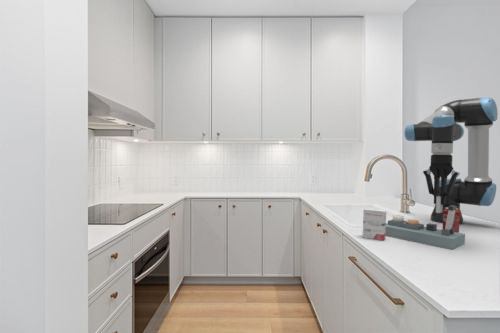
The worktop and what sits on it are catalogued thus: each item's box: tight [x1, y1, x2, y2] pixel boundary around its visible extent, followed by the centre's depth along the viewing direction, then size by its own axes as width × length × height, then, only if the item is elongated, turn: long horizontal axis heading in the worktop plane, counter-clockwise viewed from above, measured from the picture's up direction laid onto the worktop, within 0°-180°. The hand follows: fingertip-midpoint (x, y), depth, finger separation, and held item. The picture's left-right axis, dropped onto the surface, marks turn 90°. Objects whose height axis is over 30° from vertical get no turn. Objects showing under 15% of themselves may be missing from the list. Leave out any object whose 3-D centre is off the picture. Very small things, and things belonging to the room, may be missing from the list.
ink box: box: [362, 208, 387, 241], centre depth 139 cm, size 9×5×12 cm, turn 59°
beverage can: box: [442, 207, 460, 233], centre depth 147 cm, size 6×6×12 cm
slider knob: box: [425, 223, 438, 231], centre depth 138 cm, size 3×3×2 cm
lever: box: [445, 205, 457, 233], centre depth 130 cm, size 4×2×11 cm, turn 131°
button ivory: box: [392, 214, 405, 223], centre depth 146 cm, size 4×4×2 cm
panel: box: [385, 219, 466, 250], centre depth 139 cm, size 14×29×6 cm, turn 41°
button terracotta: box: [406, 219, 420, 226], centre depth 141 cm, size 4×4×2 cm
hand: (439, 212), depth 134 cm, fingers closed
